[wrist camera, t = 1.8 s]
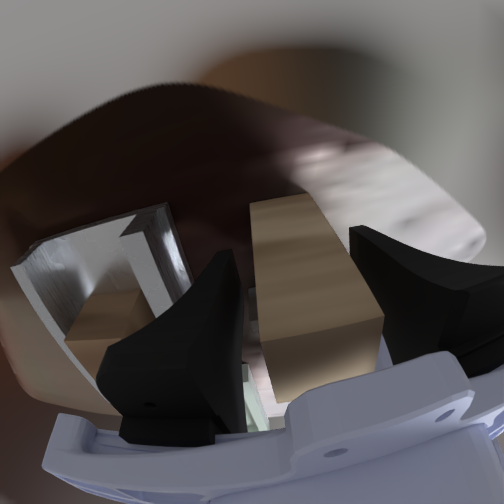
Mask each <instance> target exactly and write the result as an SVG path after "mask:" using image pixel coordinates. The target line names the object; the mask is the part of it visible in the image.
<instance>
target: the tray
mask: <svg viewBox="0 0 504 504" xmlns="http://www.w3.org/2000/svg"><path fill="white" fill-rule="evenodd" d="M242 376H243V389H244V401H245V411H246V421H247V429H248V432H258V431H267V430H270V423H269V421H268V418H267V415H266V412H265V410H264V407H263V404H262V401H261V399H260V396H259V393H258V390H257V388H256V385H255V382H254V379H253V376H252V373H251V371H250V368H249V365H248V364H242Z"/></svg>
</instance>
